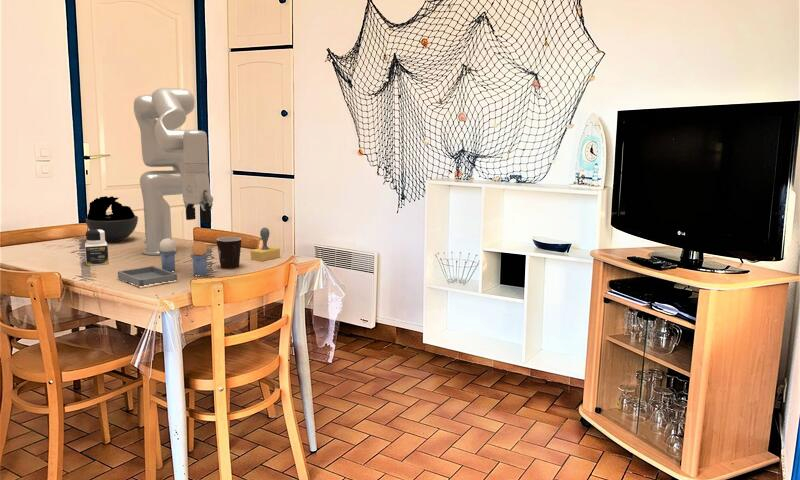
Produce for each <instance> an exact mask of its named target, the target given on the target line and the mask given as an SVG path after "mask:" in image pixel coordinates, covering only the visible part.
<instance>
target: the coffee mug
mask: <svg viewBox="0 0 800 480" xmlns="http://www.w3.org/2000/svg"><path fill="white" fill-rule="evenodd" d="M215 241H216V246H217V247H216V248H217V252H218V260H219V267H220V268H221V269H225V270H230V269H237V268H240V259H241V252H242V251H241V249H242V237H238V236H223V237H219V238H216V240H215Z"/></svg>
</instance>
